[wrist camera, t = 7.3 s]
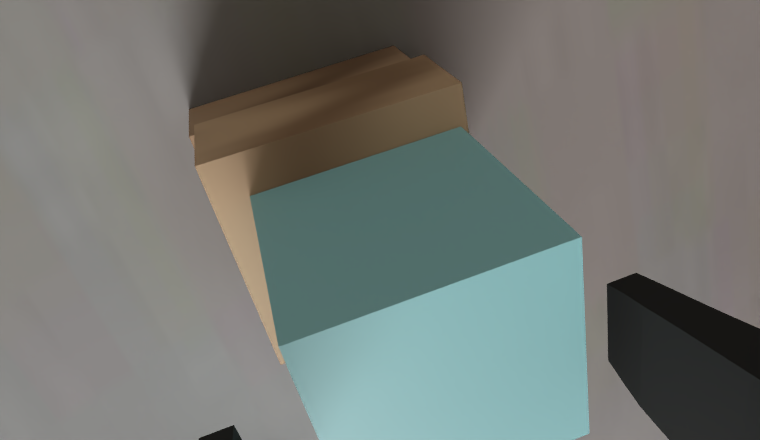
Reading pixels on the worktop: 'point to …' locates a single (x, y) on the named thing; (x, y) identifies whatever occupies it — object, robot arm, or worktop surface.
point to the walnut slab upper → (315, 145)
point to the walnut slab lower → (294, 85)
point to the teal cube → (427, 298)
